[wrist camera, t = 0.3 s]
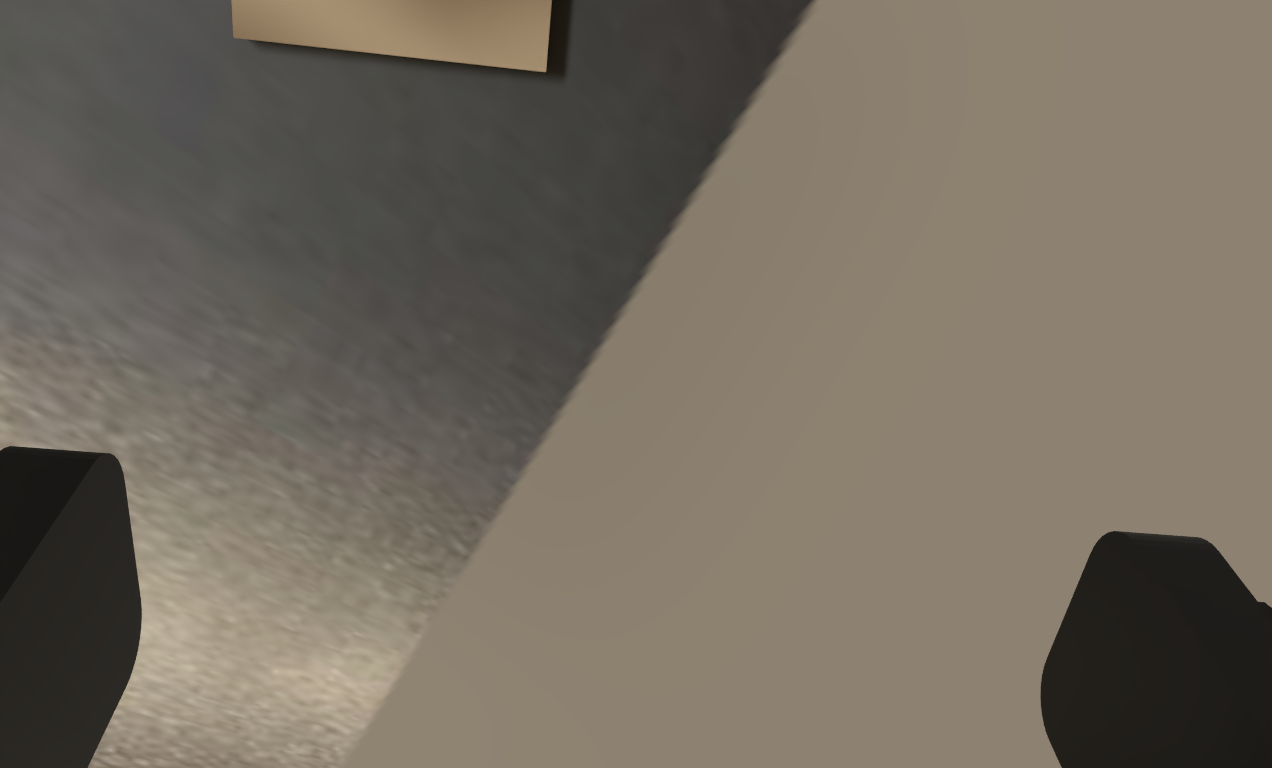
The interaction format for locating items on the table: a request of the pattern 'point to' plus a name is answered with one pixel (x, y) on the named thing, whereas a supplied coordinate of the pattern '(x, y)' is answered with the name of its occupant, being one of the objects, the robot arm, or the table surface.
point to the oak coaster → (407, 28)
